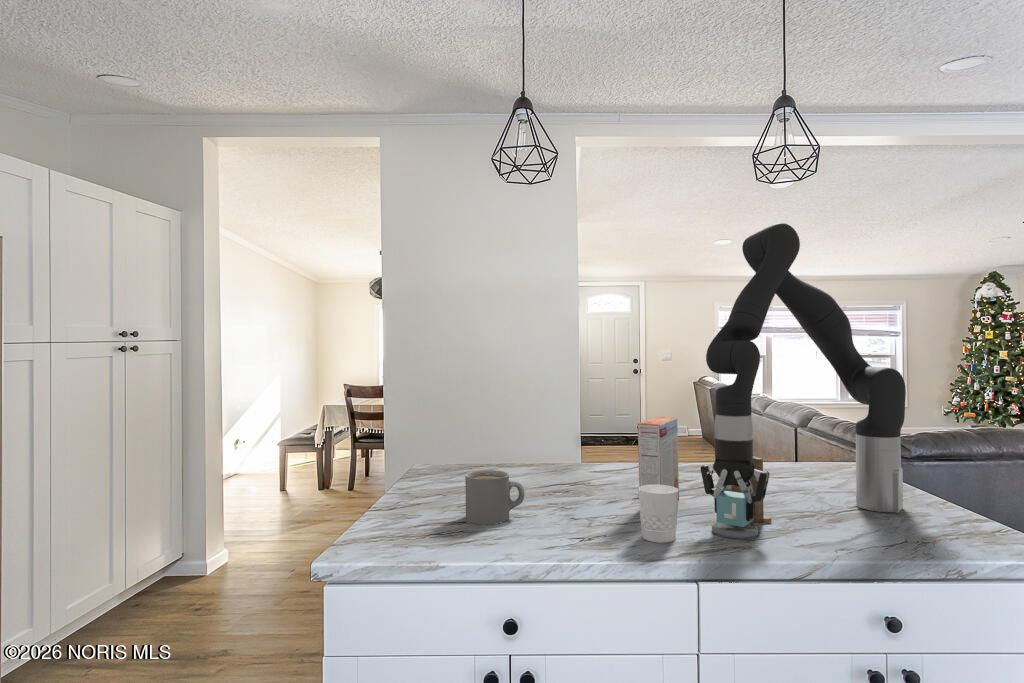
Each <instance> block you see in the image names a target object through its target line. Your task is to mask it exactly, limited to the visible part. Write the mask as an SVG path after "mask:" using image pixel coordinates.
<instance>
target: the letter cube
mask: <svg viewBox="0 0 1024 683" xmlns="http://www.w3.org/2000/svg"><path fill="white" fill-rule="evenodd" d="M716 500H717V513H716V523H723V524H729V525H734V526H740V527H744V526H746V525H747V524H749V523H750V522H752V521H753V519H752V520H751V521H747V520H746V503H747V501H746V498H745V496H744V494H743V493H738V492H731V490H725V491H724V492H723V493H721V494H719V495H717V496H716ZM749 525H750V524H749Z"/></svg>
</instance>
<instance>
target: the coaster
mask: <svg viewBox="0 0 1024 683" xmlns="http://www.w3.org/2000/svg"><path fill="white" fill-rule="evenodd" d="M711 532H712V534H714V535H715V536H718V537H721V538H725V539H729V540H751V539H754V538H755V539H756V538H757V537H758V536H759V529H758V528H757V527H756V526H754V525H753V524H747V525H746V526H744V527H740V526H734V525H729V524H723V523H717V522H716V523H713V524H712V525H711Z"/></svg>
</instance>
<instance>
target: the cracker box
mask: <svg viewBox="0 0 1024 683" xmlns="http://www.w3.org/2000/svg"><path fill="white" fill-rule="evenodd" d="M678 430H679V429H678V417H669V416H655V417H651V418H649V419H648V420H645V421H642V422H639V423H637V442H638V443H637V448H638V483H639V484H638V485H639V486H638V488H639V487H640V486H644V485H668V486H672V487H675V488H677V489H678V502H679V501H680V480H679V478H680V476H679V474H680V473H679V437H678V434H679V433H678V432H679V431H678Z"/></svg>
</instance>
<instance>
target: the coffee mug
mask: <svg viewBox="0 0 1024 683" xmlns="http://www.w3.org/2000/svg"><path fill="white" fill-rule="evenodd" d="M464 476H465V479H464V480H465V520H466V522H469V523H470V524H476V525H483V524H488V525H496V524H495V523H498V524H501V523H500V522H503V523H505V522H507V521H509V520H510V512H511V511H512V510H513V509H515V508H516V507H518V506H521V504H523V502H524V500H525V489H524V486H523V483H521V482H520V481H519V480H510V474H509V472H506V471H504V470H498V469H494V470H493V469H484V470H483V469H482V470H474V471H470V472H467V473H466V474H464ZM513 487H514V488H516V489H517V491H518V496H517V498H516V499H512V498H511V494H510V493H511V489H512V488H513ZM508 519H509V520H508ZM506 520H507V521H506ZM504 521H505V522H504Z"/></svg>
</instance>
